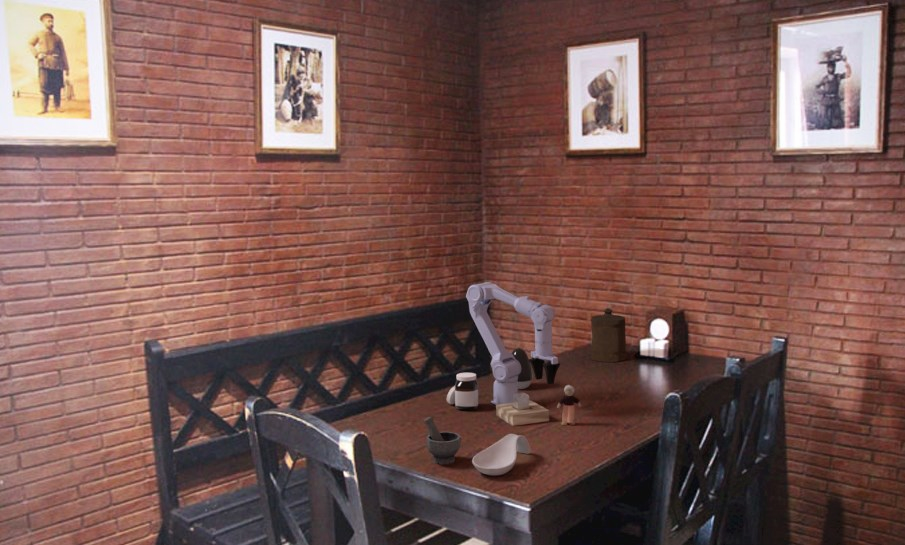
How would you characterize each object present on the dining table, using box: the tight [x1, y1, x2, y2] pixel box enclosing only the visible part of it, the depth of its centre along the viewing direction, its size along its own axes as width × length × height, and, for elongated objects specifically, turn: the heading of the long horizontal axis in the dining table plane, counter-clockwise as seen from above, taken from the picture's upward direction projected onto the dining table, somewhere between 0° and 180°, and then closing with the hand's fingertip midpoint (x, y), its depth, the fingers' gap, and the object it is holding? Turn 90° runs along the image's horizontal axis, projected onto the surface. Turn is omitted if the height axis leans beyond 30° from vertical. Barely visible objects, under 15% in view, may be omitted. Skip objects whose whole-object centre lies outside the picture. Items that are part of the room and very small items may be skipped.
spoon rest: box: [471, 433, 532, 477], centre depth 222 cm, size 24×12×7 cm, turn 149°
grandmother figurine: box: [556, 384, 582, 426], centre depth 258 cm, size 8×4×13 cm, turn 105°
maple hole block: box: [495, 400, 550, 427], centre depth 266 cm, size 13×13×4 cm
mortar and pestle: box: [423, 416, 462, 465], centre depth 227 cm, size 11×9×12 cm
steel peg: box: [513, 392, 530, 411], centre depth 265 cm, size 4×4×8 cm
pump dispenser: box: [510, 347, 534, 390], centre depth 304 cm, size 10×10×15 cm
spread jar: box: [446, 372, 479, 411], centre depth 280 cm, size 12×11×12 cm
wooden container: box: [590, 308, 627, 363], centre depth 349 cm, size 15×15×22 cm
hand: (544, 381), depth 272 cm, fingers open, 7 cm apart
